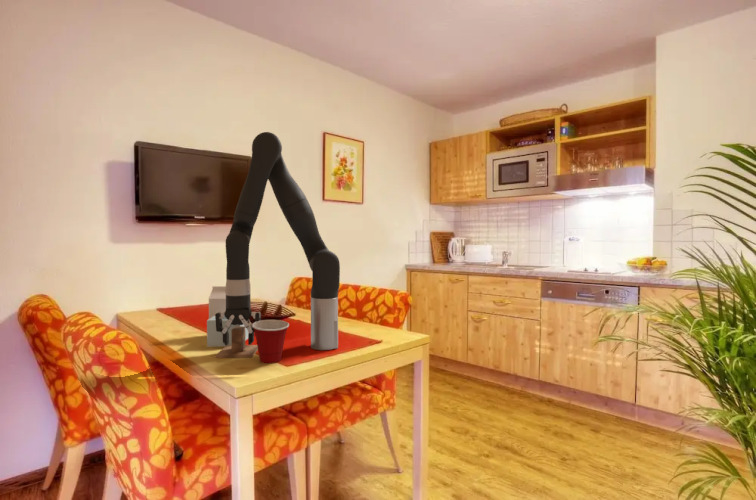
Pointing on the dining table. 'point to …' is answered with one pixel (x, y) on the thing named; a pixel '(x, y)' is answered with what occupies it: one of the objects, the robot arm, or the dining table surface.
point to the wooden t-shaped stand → (237, 346)
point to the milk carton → (217, 300)
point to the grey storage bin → (217, 337)
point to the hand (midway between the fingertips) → (238, 344)
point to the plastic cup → (270, 339)
